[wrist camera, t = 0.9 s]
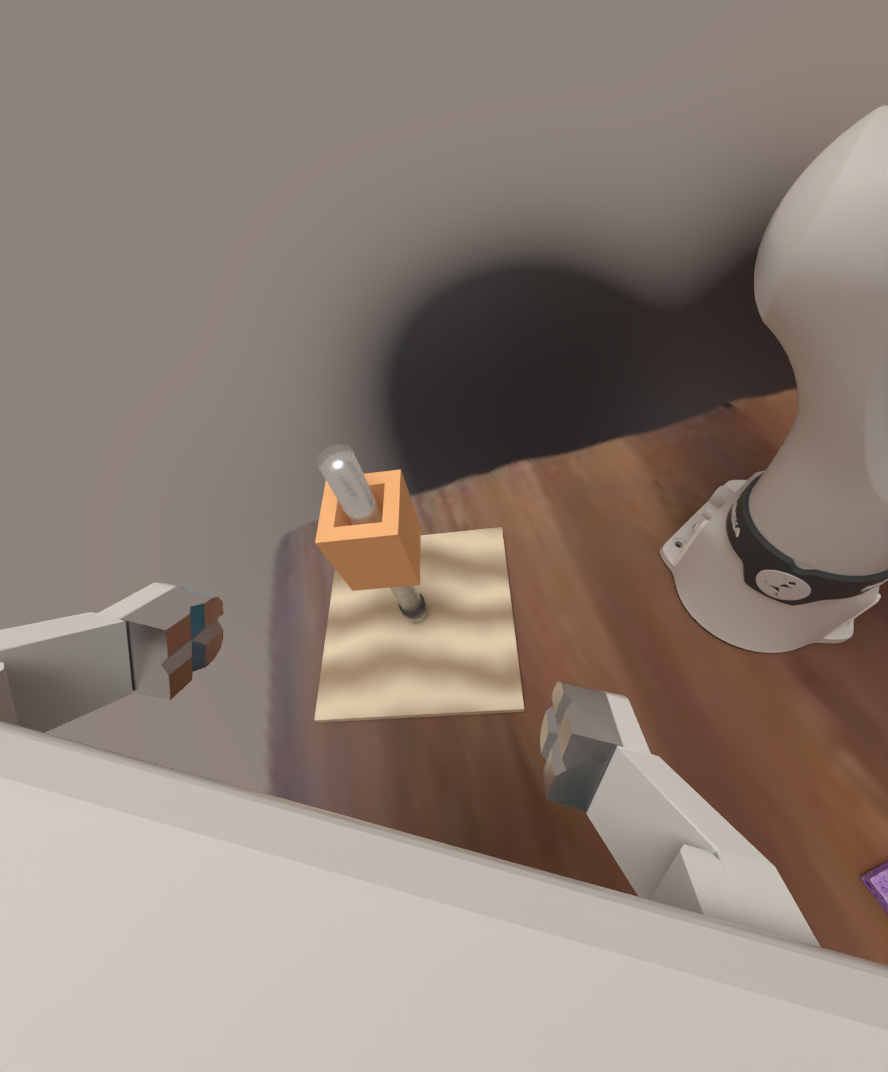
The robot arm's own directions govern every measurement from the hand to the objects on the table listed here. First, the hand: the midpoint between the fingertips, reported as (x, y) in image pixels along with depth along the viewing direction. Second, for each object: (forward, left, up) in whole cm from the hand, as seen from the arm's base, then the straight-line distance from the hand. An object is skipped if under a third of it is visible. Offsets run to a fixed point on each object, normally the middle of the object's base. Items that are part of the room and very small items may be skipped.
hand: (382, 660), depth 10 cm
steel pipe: (-8, -15, -35) cm, 39 cm away
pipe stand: (-8, -15, -37) cm, 40 cm away
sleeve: (-8, -15, -22) cm, 28 cm away
